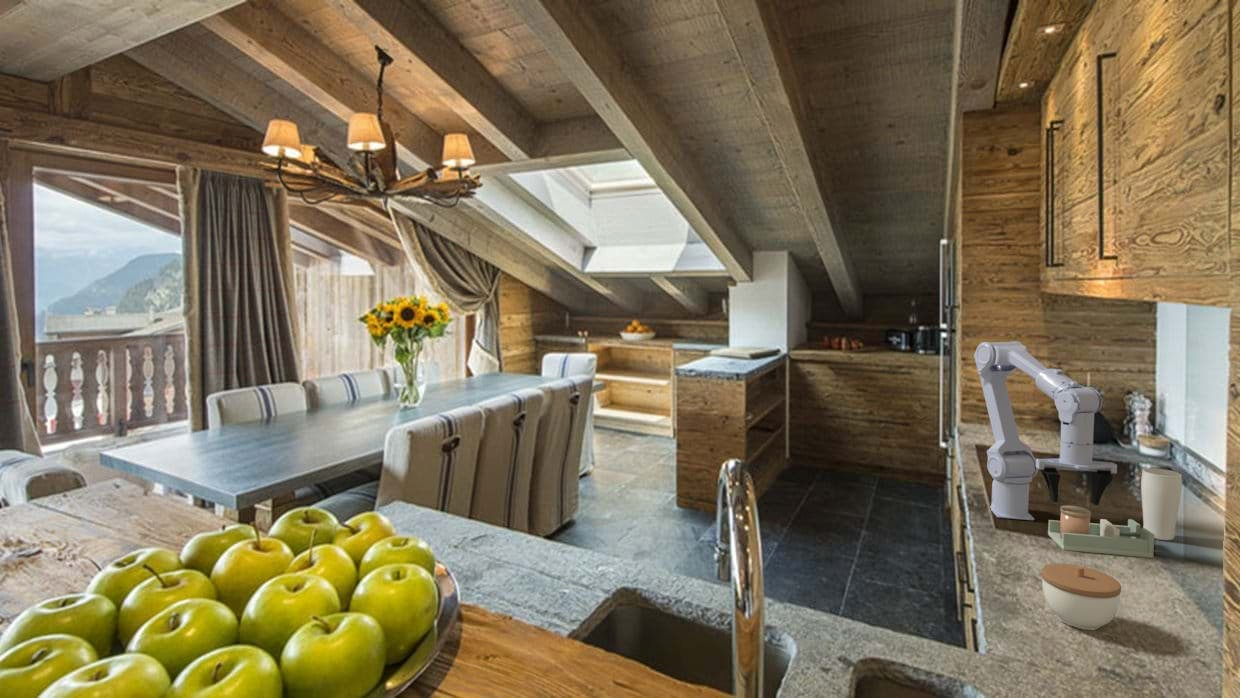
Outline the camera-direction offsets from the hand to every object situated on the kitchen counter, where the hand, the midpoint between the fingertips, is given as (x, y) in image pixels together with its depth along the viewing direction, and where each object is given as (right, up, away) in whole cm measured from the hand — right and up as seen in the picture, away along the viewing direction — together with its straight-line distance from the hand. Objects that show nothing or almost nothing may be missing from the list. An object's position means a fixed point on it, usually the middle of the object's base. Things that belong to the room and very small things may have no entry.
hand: (1074, 502), depth 133 cm
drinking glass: (+22, -9, +3) cm, 24 cm away
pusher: (+10, -8, -2) cm, 13 cm away
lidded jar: (-23, -13, -31) cm, 40 cm away
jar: (0, -8, 0) cm, 8 cm away
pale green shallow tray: (+5, -9, -1) cm, 11 cm away
